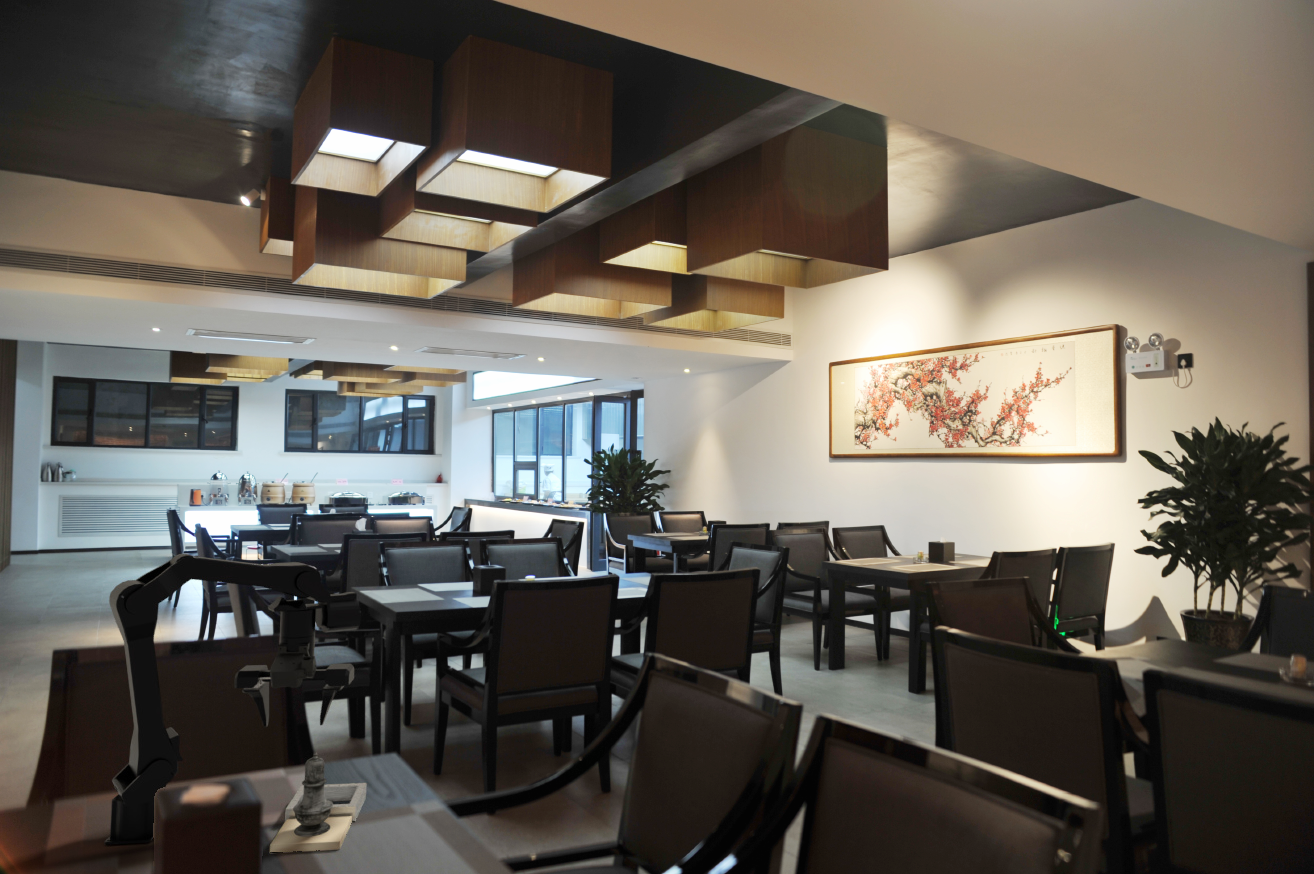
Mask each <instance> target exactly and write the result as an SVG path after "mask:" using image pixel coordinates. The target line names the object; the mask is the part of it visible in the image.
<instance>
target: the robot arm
mask: <svg viewBox="0 0 1314 874" xmlns="http://www.w3.org/2000/svg"><path fill="white" fill-rule="evenodd" d="M319 571H320V570H318V568H317V567H315V566H313V565H310V564H305V563H302V562H299V561H297V562H296V561H295V562H293V561H292V562H275V563H266V564H265V563H262V564H261V563H260V564H259V563H252V562H245V561H244V562H243V561H237V560H236V561H235V560H228V559H222V558H221V559H220V558H212V557H211V558H210V557H204V556H195V555H191V554H188V553H180V554H177V555H175V556H174V557H173V556H172V558H171V559H169V560H168V561H166V562H165V563H163V564H161V565H159V566H157V567H156V568H154V569H151V570H150V571H147V572H146V573H144V574H142V575H141V576H140V577H138V578H136V579H129V580H124V581H121V582H120V583H119V584H117V585H116V586H115V587H114V588H113V589H112V590H111V591H110V592H109V593H110V595H109V598H108V602H109V607H110V609H111V612H112V615H113V618H114V620H115V623H116V626H117V628H118V631H119V632H120V635H121V638H122V641H123V644H124V645H123V647H124V652H125V653H124V654H125V660H126V661H125V662H126V663H125V664H126V668H127V669H126V670H127V671H126V672H127V678H128V687H129V693H130V694H129V695H130V701H131V702H130V704H131V711H132V719H133V731H132V736H131V742H130V748H129V761H128V763H127V764H126V765H125V766H124V767H123V768H122V769H121V770H120V771H119V772H118V773H117V774H115V776H114V777H113V778H112V779H111V781H112V783H113V784H112V785H114V786H113V787H114V789H115V792H117V795H116V796H115V797H113V798H112V799H111V811H110V826H109V827H110V828H109V831H110V832H109V836H108V838H106V839H105V840H104V845H106V846H107V845H127V844H128V845H129V844H148V843H150V842H152V841H153V840H154V839H153V823H154V796H155V793H156V792H157V790H158V789H160V788H163V787H165V788H166V786H167V785H168V784H169V783H170V782H172V780H173V779H174V778H175V777H176V775H177V774H178V771H179V765H180V764H179V762H183V761H184V759H183V757H182V755H181V753H180V742H181V740H180V735H179V734H178V732H177V731H175V729H174V728H173V727H171V726H170V727H167V728H166V726H165V722H164V713H163V706H162V697H161V689H160V688H161V687H160V679H159V674H158V673H159V672H158V663H157V656H156V648H155V633H156V628H157V623H158V620H159V604H160V603H162V602H163V601H165V600H166V599H168V598H169V597H171V596H172V595H173V594H174V593H175V592H177V590H179V589H180V588H181V587H182V586H183V585H185V584H186V583H188V582H189V581H191V580H195V581H205V582H213V583H222V584H223V583H225V584H233V585H244V586H251V587H258V588H259V587H260V588H261V587H262V588H265V589H268V590H272V591H276V592H279V593H282V594H285V595H289V596H292V597H295V598H299V599H289V600H286V599H285V597H282V596H281V595H279V596H277V598H276V599H275V600H274V601H273V602H272V603H271V604H269V605H268V606H267V609H268V610H269V611H271V612H273V613H280V620H279V621H280V626H279V644H278V647H277V654H276V655H275V659H274V661H273V662H272V665H271V666H270V669H269V668H268V665H267V664H263V665H262V664H257V665H256V664H255V665H253V664H252V665H249V664H246V665H245V666H244V667H242V668H241V669H240V670H238V671H237V672H236V673H235V675H234V680H233V682H234V683H233V684H234V685H233V688H234V689H241V690H242V693H244V694H248V695H249V696H250V697H251V698H252V699H253V701H254V703H255V705H256V708H257V710H258V714H259V716H260V719H261V721H262V722H261V723H262V726H263V727H264V728H267V727H268V725H269V720H270V686H271V688H273V689H279V688H287V687H288V688H292V689H293V688H299V687H300V686H301V685H302V683H303V681H305V682H306V681H307V682H308V681H310V682H311V681H314V682H315V681H324V682H325V685H324V686H323V688H322V702H321V707H320V715H319V725H320V726H324V722H325V720H326V718H327V715H328V713H329V711H330V707H331V705H332V702H333V699H334V697H335V696H336V694H337V692H339V691H342V690H343V688H344V687H346V686H350V684H352V683H353V682H352V681H354V679H355V667H354V665H353V664H352V663H331V664H330V665H329V666H327V668H326V669H324V668H323V669H317V660H316V656H315V647H316V645H315V644H316V627H317V628H321V631H322V632H323V633H335V632H343V631H353V630H357V629H359V627H360V625H361V621H362V611H361V608H360V604H359V601H358V599H357V596H358V595H357V593H356V592H354V591H345V592H343V593H335V594H334V593H332V594H330V593H329V591H328V590H327V588H326V587H325V585H323V583H322V576H321V573H320V572H319ZM303 599H308V600H312V601H314V602H317V603H306V602H305V601H304V600H303ZM152 839H153V840H152ZM151 840H152V841H151Z"/></svg>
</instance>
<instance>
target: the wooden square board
mask: <svg viewBox="0 0 1314 874" xmlns="http://www.w3.org/2000/svg"><path fill="white" fill-rule="evenodd" d="M324 822H326V823H328V824H329V825H330V830H329V831H327V832H326V833H323V834H321V835H317V836H311V837H302V836H298V835H296V834H295V833H294V830H295V828H297V827H298V826H299V825H301V824H300V823H299V822H298V821H297V819H296V818H293V819H287V820H286V821H285V820H284V823H283V824H282V826H281V827H280V829H279V831H278V832H277V834H276V835H275V837H274V839H273V840H272V841H271V843H270V845H269V853H270V852H283V853H294V852H293V851H296V852H295V853H298V852H297V851H302V852H315V851H316V850H317V852H318V850H320V851H334V850H335V851H336V850H338V851H339V850H341V847H342V845H343V843H344V841H345V839H346V837H347V835H346V834H348V833H349V831H350V827H351V826H350V825H352V824H351V823H353V822H352V816H336V817H328V818H327V819H326V820H325V821H324Z"/></svg>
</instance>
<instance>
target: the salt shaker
mask: <svg viewBox="0 0 1314 874" xmlns="http://www.w3.org/2000/svg"><path fill="white" fill-rule="evenodd" d="M325 765H326V763H325V760H324V759H323V758H322V757H319V756H318V753H317V751H314V752H313V754H312V757H311V758H309V759H307V760H306V762H305V765H304V780H303V781H301V786H303V785H304V795H303V799H302V802H301V803H299V804H297V805H295V806H294V808H293V811H294V812H295V817H296V819H297V821H298V822H299V823H300V824H301V825H299V826H298V827H297V828H295V830H294V833H295V834H296V835H298V836H302V837H311V836H317V835H321V834H323V833H326V832H327V831H329V830H330V825H329V824H328V823H326V822H324V821H325V820H326V819H327V818H328V816H329V814H330V812H331V808H332V807H333V805H334V803H333V801H329V800H325V797H324V785H326V783H327V779H326V778H325V769H326V768H325V767H326V766H325Z"/></svg>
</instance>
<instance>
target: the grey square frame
mask: <svg viewBox="0 0 1314 874" xmlns="http://www.w3.org/2000/svg"><path fill="white" fill-rule="evenodd" d="M367 786H368V785H367V782H357V783H332V784H329V783H327V784H324V797H325V800H329V801H331V802H343V801H345V802H348V801H349V803H341V804H339V803H337V804H334V803H333V807H332V808H331V812H330V814H329V816H328V817H336V816H352V821H355V822H356V821H357V819H356V818H358V816H359V814H360V812H361V809H362V808H363V807H362V806H363V805H364V803H365V801H366V798H367ZM303 795H304V785H300V787H299V789H298V790H297V792H296V793H295V795H294V796H293V798H292V799H291V801H290V802H289V803H288V805H287V807H286V808H285V812H284V813H285V814H284V815H285V817H284V822H285V821H286V820H287V819H293V818H296V817H295V812H294V811H293V808H294V806H295V805H297V804H299V803H301V802H302V799H303Z"/></svg>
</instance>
